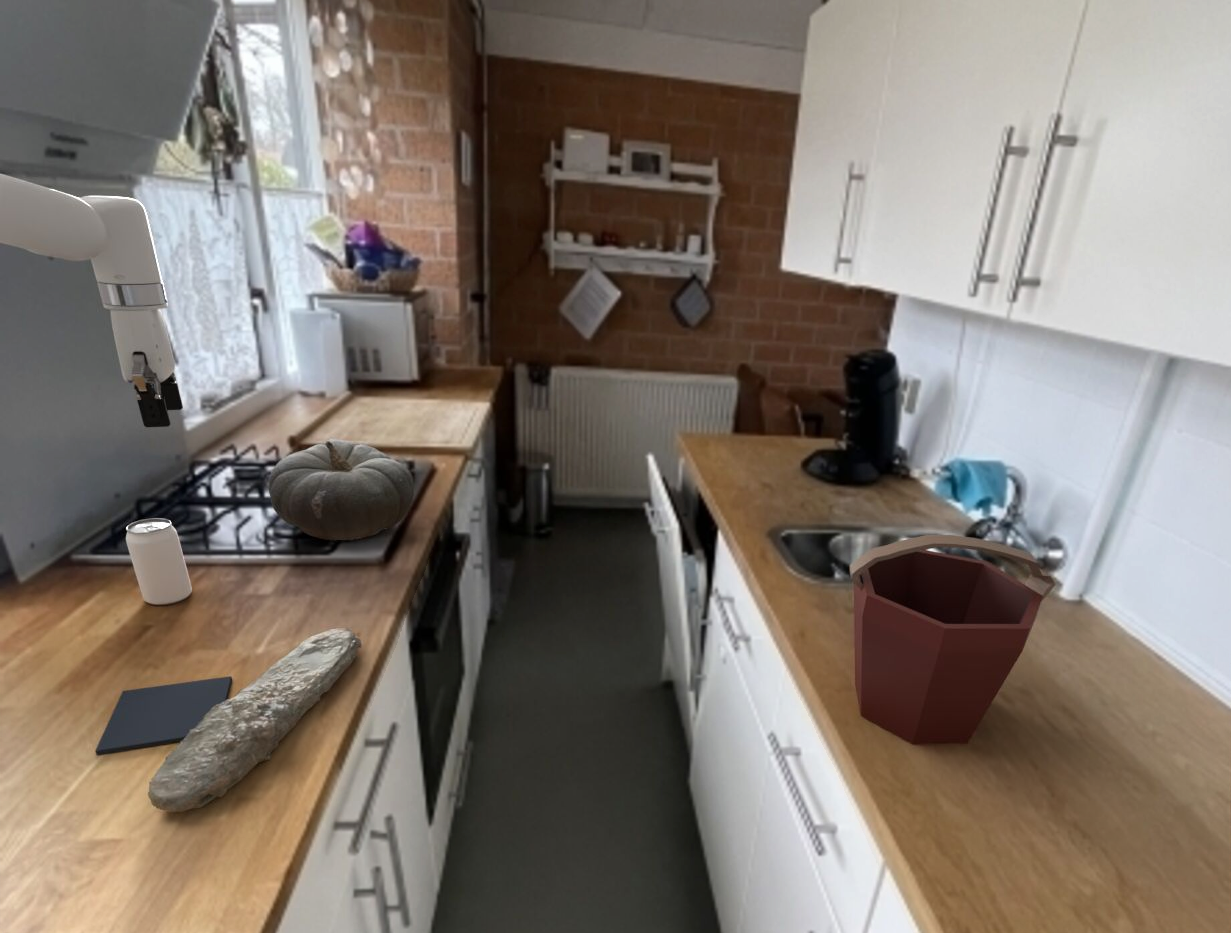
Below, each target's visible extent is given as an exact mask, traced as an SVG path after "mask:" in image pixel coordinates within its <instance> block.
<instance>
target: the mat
mask: <svg viewBox="0 0 1231 933" xmlns="http://www.w3.org/2000/svg"><path fill="white" fill-rule="evenodd" d="M232 677H233V676H231V675H229V676H222V677H214V678H208V679H207V678H206V679H200V680H193V681H186V682H177V683H170V684H163V685H156V686H149V687H142V688H133V689H128V690H126V689H125V690H122V692H121V694H120V696H119V698H118V700H117V703H116V704H115V707H114V709H113V711H112V713H111V716H110V718H109V720H108V722H107V725H106V726H105V729H104V730H103V733H102V735H101V738H100V740H99V742H98V744H97V746H96V749H95V750H94V751H95V755H96V756H99V755H105V754H111V753H112V754H113V753H119V752H125V751H131V750H137V749H143V748H148V747H156V746H162V745H168V744H174V743H180V742H181V741H182V740H183V739H184V738H185V737H186V736H187V734H189V732H190V730H191V729H194V728H195V727H196V726H197V725H198V724H199V722H201V721H202V720H203V717H204V716H205V715H206V714H207V713H208V712H209V711H210V710H211V709H212V707H214V706H216V705H217V704H220V703H222V702H223V701H225V700H227V699H229V695H230V690H231V686H232V682H233V678H232Z"/></svg>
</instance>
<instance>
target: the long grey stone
mask: <svg viewBox="0 0 1231 933" xmlns="http://www.w3.org/2000/svg"><path fill="white" fill-rule="evenodd" d="M359 648H363V644H362V640H361V638H359V637H356V632H354V631H351V630H350V629H349V628H348V627H343V628H338V627H336V628H332V629H328V630H326V631H323V632H320V633H317V634H314V635H312V636H310V637H307V638H306V639H304V640H302V642H300V643H299V644H298V645H297V647H296V648H294V649H293V650H291V651H290V652H289V653H287V654H286V655H285V656H283V657H281V658H280V659H278V660H277V661H276V662H274V663H273V664H272V665H270V666H269V667H268V668H267V669H266V670H265V672H263V673H262V674H261V675H260V676H259V677H257V678H256V679H254V680H253V681H252V682H250V683H249V684H247V686H245V687H243V688H241V689H240V690H238V692H236V694H235V695H234V696H233V697H231V698H228V699H227V700H225V701H223V702H222V703H220V704H217V705H216V706H214V707H212V709H211V710H210V711H209V712H208V713H207V714H206V715H205V716H204V717H203V720H202V721H201V722H199V724H198V725H197V726H196V727H195V728H194V729H191V730H190V732H189V734H187V736H186V737H185V738H184V739H183V740H182V741H181V742H179V744H178V745H177V746H176V747H175V749H172V751H171V752H170V753H168V755H166V756H165V761H164V762H163V763H162V765H161V766H160V767H159V768H158V769H157V771H156V772H155V774H153V776H152V778H151V780H150V781H149V783H148V784H149V786H148V793H147V796H148V798H149V801H150V802H151V805H152V806H153V807H155V808H156V809H158V810H161V811H165V812H170V813H176V812H184V811H188V810H192V809H199V808H203V806H204V805H207V804H209V802H211V801H213V800H214V799H215V798H216V797H218V798H221V797H223V796H224V795H225V794H226V793H227V791H228V790H229V789H231V788H232V787H233V786H235V785H236V784H237V783H239V782H241V781H242V780H243V779H244V778H245V777H246V776H247V775H248V773H249V772H250V771H252V770H253V769H254V767H255V766H256V765H258V763H262V762H266V761H269V760H271V752H273V751H274V750H275V749H277V748H278V746H279V745H278V744H279V742H280V741H281V740H282V739H283V738H285V736H287V734H288V733H290V732H291V730H292V729H294V728H295V726H297V724H298V723H299V720H301V718H302V716H303V715H305V713H306V712H307V711H308V710H309V709H311V708H312V707H313V706H314V705H316V703H318V702H319V701H321V700H322V699H321V696H322V695H323V694H324V693H327V692H329V691H330V690H331V688H332V686H333V685H334V684H335V683H336V682H337V680H339V678H340V676H341V675H343V673H344V672H346V670H347V669H348V668H349V667H350V666H351V665H352V663H353V662H354V661H353V660H354V659H357V656H358V655H357V653H358V651H359V650H358V649H359Z"/></svg>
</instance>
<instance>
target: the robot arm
mask: <svg viewBox="0 0 1231 933" xmlns="http://www.w3.org/2000/svg"><path fill="white" fill-rule="evenodd" d="M0 244H2V245H3V244H4V245H7V246H10V247H11V246H12V247H15V248H19V249H20V248H21V249H24V250H25V251H27V252H30V253H33V254H36V255H39V256H40V255H41V256H44V257H50V258H55V259H56V258H58V259H62V260H67V261H72V262H85V261H88V260H90V262H91V265H92V268H93V273H94V276H95V280H96V283H97V288H98V291H99V294H100V299H101V302H102V305H103V308H104V309H107V310H109V311H110V320H111V321H110V322H111V328H112V332H113V338H114V343H115V347H116V348H115V349H116V352H117V356H118V361H119V365H120V370H121V374H122V378H123V380H124V381H125V382H126V383H128V384H133V383H134V384H133V389H134V390H135V397H136V401H137V405H138V409H139V414H140V416H141V420H142V424H143V426H144V427H145V428H167V427H170V426H171V419H170V416H169V412H168V411H181V410H182V409H183V408H184V405H183V402H182V397H181V392H180V389H179V385H178V383H177V378H176V375H175V373H174V371H175V370H176V364H175V358H174V353H173V349H172V344H171V341H170V337H169V332H168V329H167V325H166V322H165V317H164V314H163V312H162V309H167V308H169V303H168V298H167V294H166V290H165V287H164V282H163V279H162V274H161V270H160V266H159V261H158V257H157V253H156V248H155V244H154V240H153V235H152V231H151V226H150V224H149V218H148V214H147V211H146V208H145V206H144V205H143V204H142V203H141V202H140V201H139V200H137V199H135V198H132V197H124V196H112V195H84V196H82V197H79V196H78V197H77V196H74V195H72V194H69V193H65V192H63V191H60V190H56V189H53V188H50V187H47V186H45V185H40V184H37V183H34V182H30V181H27V180H24V179H21V178H17V177H13V176H11V175H8V174H3V173H0Z"/></svg>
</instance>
